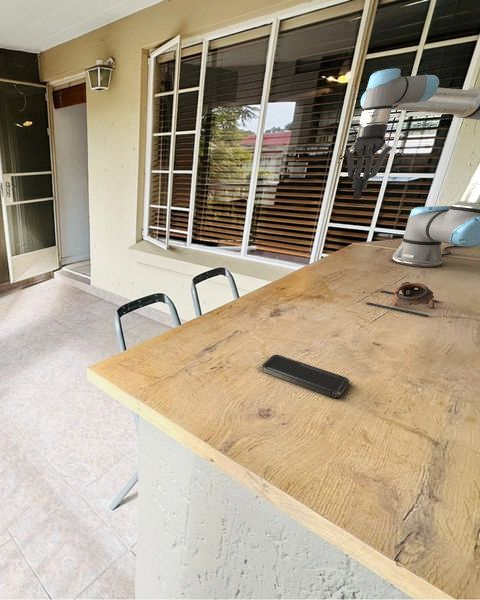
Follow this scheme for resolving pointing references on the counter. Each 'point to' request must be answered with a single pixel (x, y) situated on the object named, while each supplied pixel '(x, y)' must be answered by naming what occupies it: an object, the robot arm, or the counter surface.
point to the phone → (306, 375)
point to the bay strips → (398, 309)
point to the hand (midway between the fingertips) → (356, 198)
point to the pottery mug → (413, 294)
